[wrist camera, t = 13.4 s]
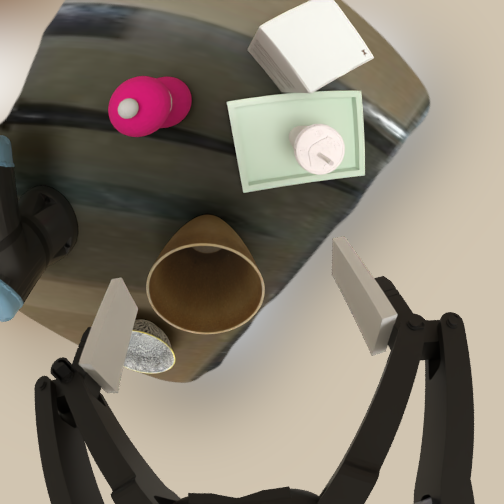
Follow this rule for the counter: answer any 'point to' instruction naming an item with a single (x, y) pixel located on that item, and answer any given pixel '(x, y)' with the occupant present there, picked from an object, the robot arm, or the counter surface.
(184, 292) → the plant pot
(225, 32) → the counter surface
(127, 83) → the pepper mill
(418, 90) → the counter surface
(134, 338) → the bowl
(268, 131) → the tray
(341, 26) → the supplement box
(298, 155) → the smoothie
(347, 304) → the robot arm
